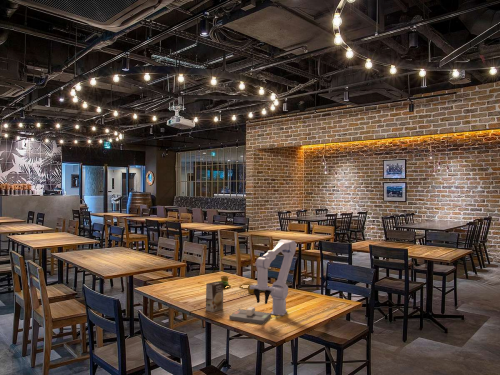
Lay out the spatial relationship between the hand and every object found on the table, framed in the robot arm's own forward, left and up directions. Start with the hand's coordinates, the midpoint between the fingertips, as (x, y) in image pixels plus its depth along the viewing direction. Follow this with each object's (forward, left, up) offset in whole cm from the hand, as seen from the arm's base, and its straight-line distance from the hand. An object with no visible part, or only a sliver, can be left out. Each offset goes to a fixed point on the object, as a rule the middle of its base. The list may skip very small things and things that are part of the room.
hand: (262, 303), depth 220 cm
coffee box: (-6, -33, -10) cm, 35 cm away
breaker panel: (0, -7, -9) cm, 12 cm away
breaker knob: (0, -7, -7) cm, 10 cm away
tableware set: (-61, -41, -10) cm, 74 cm away
